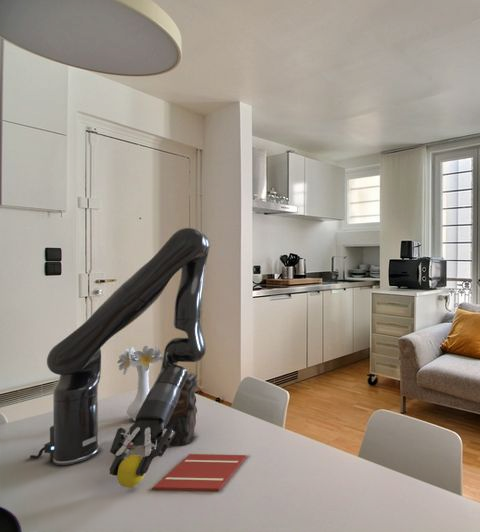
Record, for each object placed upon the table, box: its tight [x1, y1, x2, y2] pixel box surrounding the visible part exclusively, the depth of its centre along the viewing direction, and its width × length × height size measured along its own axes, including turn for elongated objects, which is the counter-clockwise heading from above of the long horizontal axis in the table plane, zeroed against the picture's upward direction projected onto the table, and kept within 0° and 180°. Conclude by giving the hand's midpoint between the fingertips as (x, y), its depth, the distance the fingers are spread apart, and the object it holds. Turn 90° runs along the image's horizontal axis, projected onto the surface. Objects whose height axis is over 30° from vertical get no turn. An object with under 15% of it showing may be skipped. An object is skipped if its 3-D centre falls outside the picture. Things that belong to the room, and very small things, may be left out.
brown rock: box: [157, 371, 198, 447], centre depth 113 cm, size 13×13×20 cm
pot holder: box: [152, 453, 247, 492], centre depth 96 cm, size 16×15×1 cm
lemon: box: [116, 453, 146, 489], centre depth 88 cm, size 6×6×8 cm
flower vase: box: [116, 345, 163, 422], centre depth 127 cm, size 13×18×25 cm
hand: (126, 474), depth 86 cm, fingers closed on lemon, 5 cm apart
